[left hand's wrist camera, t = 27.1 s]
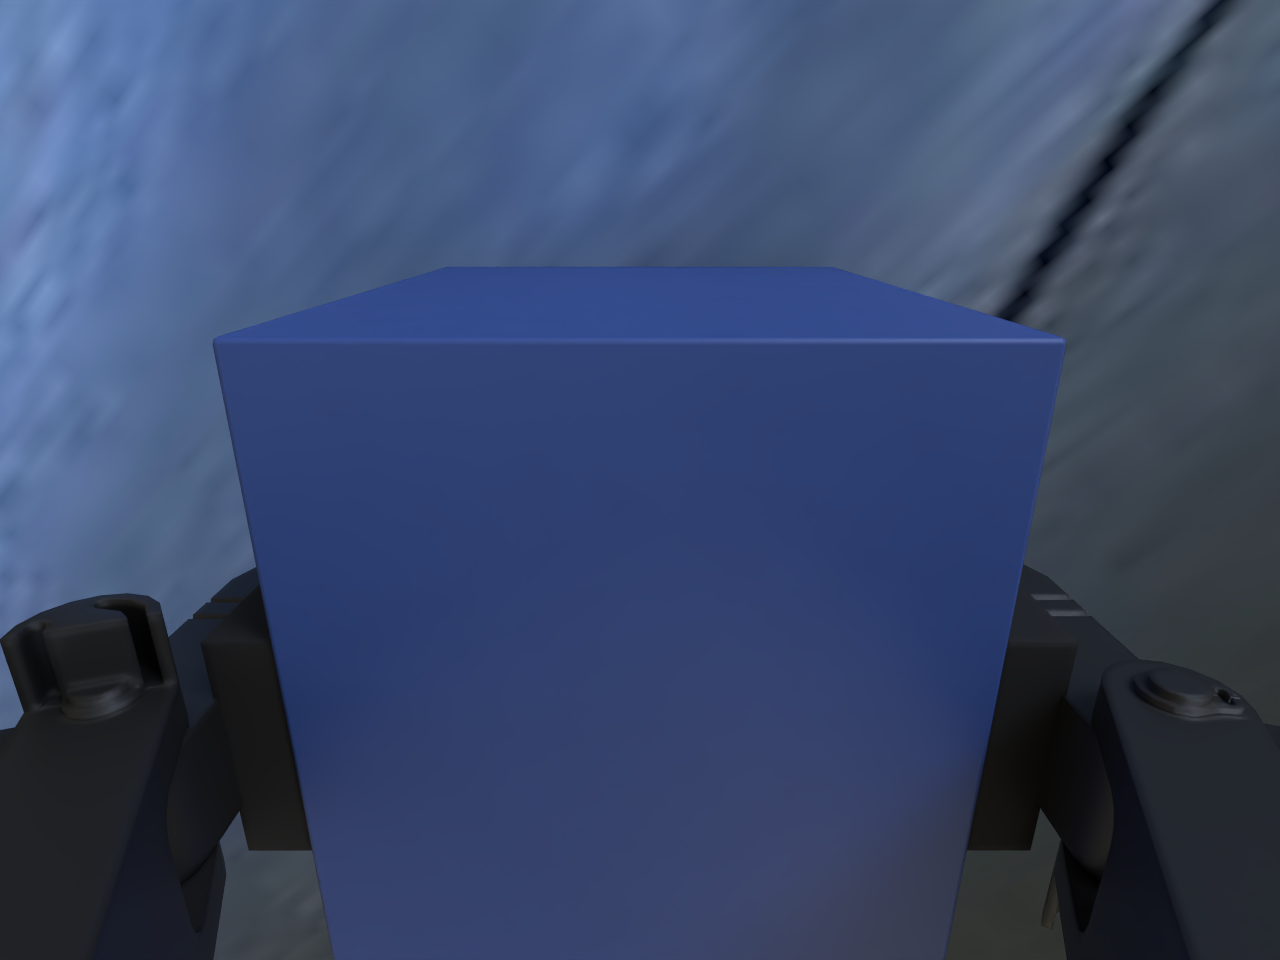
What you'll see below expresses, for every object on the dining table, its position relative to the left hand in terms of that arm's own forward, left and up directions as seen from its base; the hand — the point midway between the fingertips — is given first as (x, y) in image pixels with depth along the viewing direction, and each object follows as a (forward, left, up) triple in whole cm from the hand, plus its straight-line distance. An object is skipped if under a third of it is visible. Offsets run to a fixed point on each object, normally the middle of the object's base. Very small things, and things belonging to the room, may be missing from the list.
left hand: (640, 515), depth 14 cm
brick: (0, 0, -2) cm, 2 cm away
